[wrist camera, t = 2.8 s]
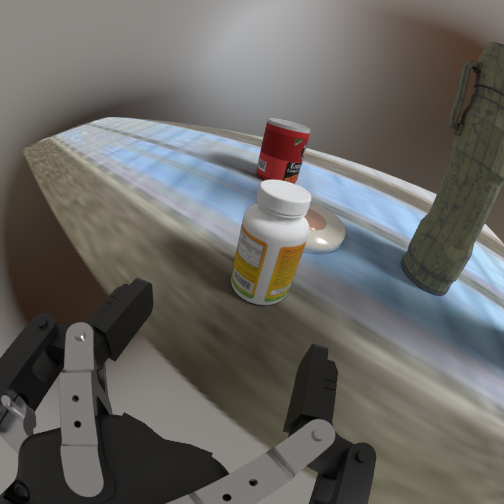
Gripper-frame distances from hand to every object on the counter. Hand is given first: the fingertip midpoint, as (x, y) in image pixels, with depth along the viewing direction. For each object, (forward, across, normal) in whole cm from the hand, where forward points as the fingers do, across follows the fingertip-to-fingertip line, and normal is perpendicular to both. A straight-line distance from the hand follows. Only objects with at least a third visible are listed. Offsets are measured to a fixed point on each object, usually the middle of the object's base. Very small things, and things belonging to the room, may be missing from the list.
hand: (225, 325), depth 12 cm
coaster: (+26, -2, +7) cm, 26 cm away
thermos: (+24, -22, +7) cm, 34 cm away
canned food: (+42, +5, +7) cm, 43 cm away
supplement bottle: (+11, 0, +7) cm, 13 cm away
